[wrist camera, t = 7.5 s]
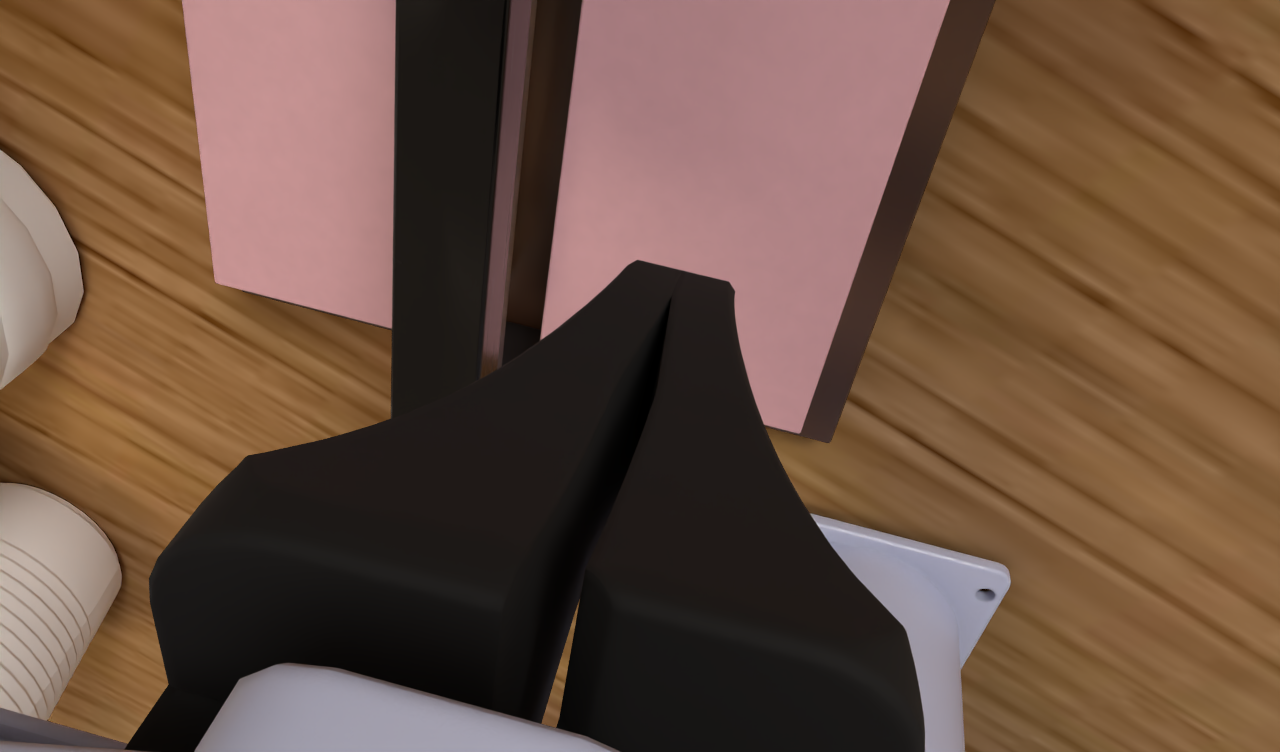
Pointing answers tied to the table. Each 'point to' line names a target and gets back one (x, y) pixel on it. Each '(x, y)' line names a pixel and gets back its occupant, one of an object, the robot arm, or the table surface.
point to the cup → (48, 594)
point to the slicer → (884, 242)
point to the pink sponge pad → (581, 156)
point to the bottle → (32, 272)
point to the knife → (455, 189)
